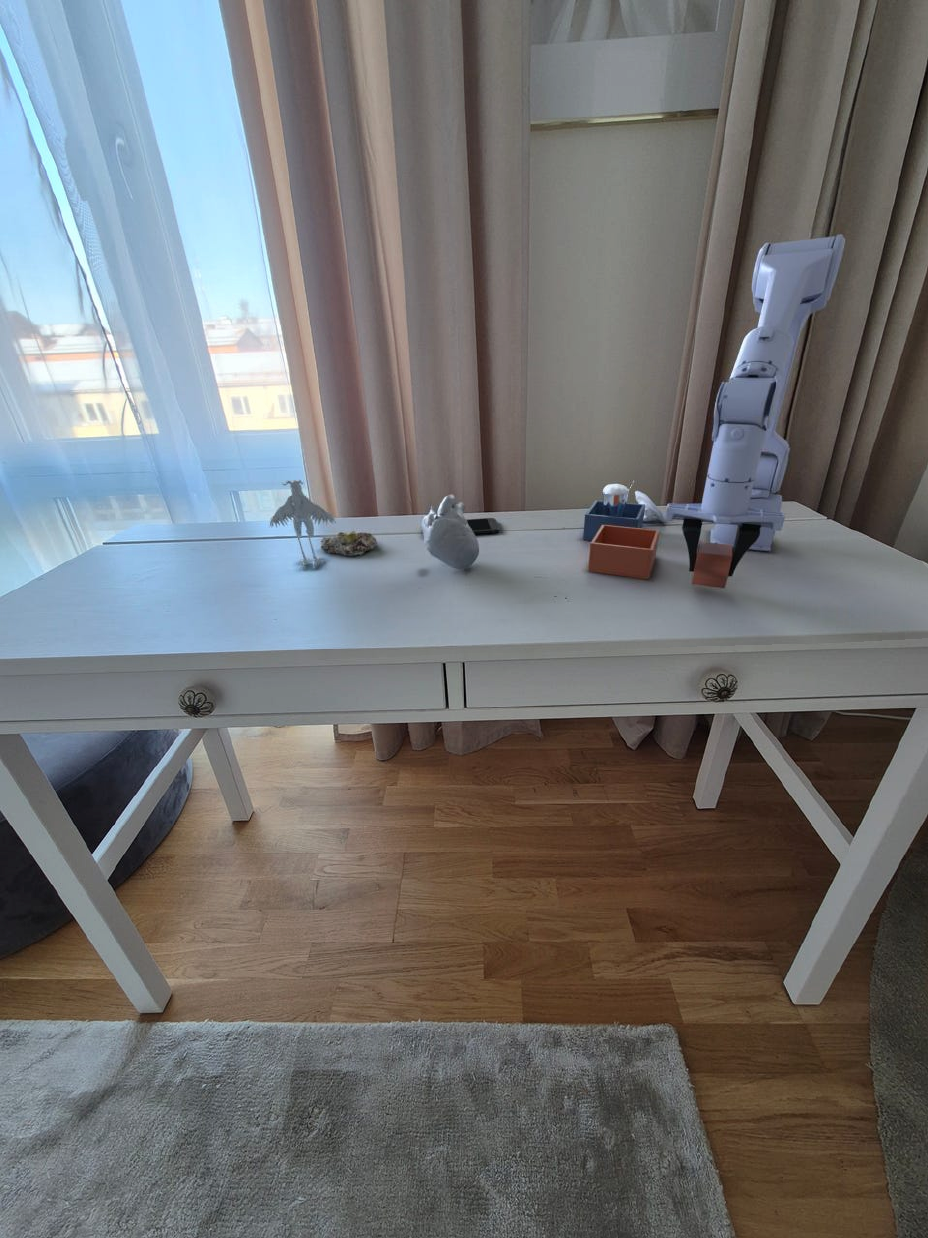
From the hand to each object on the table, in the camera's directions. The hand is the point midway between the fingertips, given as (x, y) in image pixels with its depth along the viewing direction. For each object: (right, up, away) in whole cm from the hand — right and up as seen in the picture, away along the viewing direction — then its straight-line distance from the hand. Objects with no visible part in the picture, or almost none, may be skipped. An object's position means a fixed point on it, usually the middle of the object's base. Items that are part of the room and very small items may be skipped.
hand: (710, 571), depth 73 cm
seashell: (+2, +13, +30) cm, 32 cm away
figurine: (-63, +2, +16) cm, 65 cm away
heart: (-38, +2, +14) cm, 40 cm away
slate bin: (-7, +9, +24) cm, 26 cm away
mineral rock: (-58, +6, +23) cm, 62 cm away
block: (0, -1, +1) cm, 1 cm away
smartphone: (-36, +11, +29) cm, 48 cm away
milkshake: (-7, +10, +23) cm, 26 cm away
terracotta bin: (-9, +2, +11) cm, 15 cm away
